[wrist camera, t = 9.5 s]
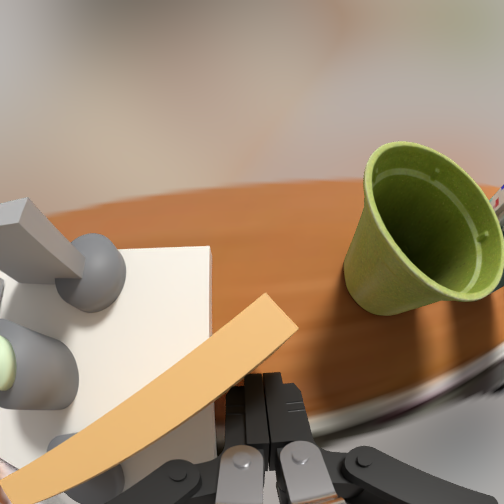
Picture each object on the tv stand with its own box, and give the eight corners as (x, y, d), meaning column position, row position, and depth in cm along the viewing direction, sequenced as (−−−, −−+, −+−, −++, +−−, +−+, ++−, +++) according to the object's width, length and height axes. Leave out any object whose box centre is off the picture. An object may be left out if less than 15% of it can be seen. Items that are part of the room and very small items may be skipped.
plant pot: (361, 200, 22) (402, 121, 14) (444, 271, 19) (511, 215, 11) (292, 279, 18) (325, 200, 11) (394, 365, 16) (484, 342, 8)
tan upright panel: (92, 508, 9) (22, 546, 2) (48, 448, 10) (-36, 456, 3) (293, 377, 14) (341, 373, 7) (234, 312, 16) (225, 249, 8)
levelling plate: (-7, 445, 10) (-83, 441, 2) (4, 257, 18) (-57, 202, 10) (222, 514, 11) (204, 604, 2) (212, 249, 19) (190, 143, 11)
